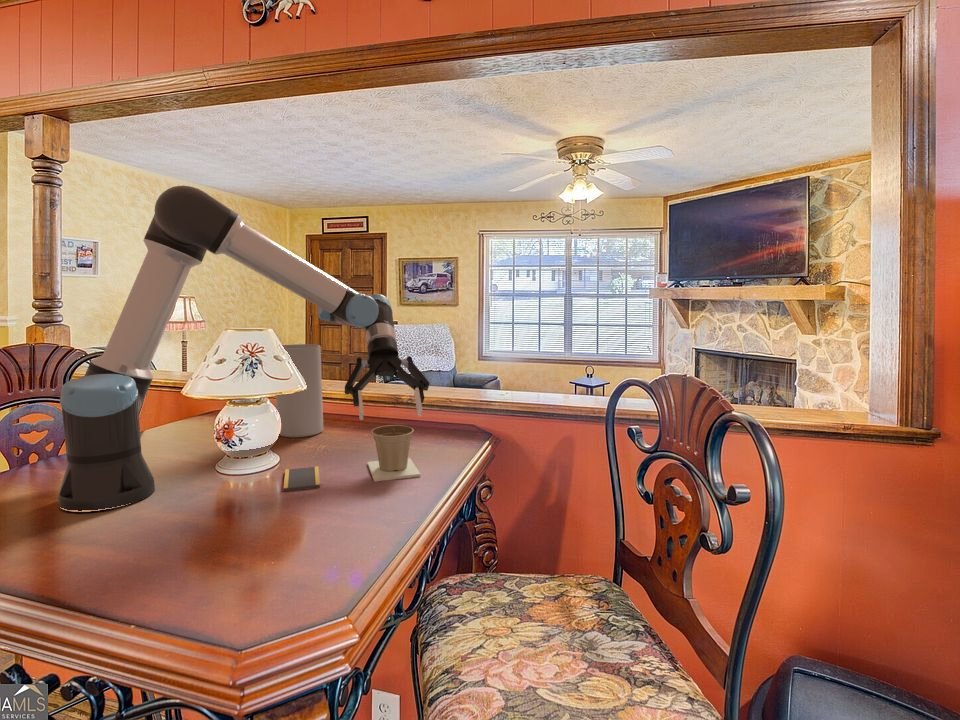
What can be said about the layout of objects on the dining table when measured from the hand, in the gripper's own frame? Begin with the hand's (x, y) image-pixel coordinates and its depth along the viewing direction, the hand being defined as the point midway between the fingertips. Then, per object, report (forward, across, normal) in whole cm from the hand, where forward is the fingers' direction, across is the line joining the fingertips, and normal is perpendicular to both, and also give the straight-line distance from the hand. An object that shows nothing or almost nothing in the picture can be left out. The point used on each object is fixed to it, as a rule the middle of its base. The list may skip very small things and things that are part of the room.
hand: (391, 415), depth 121 cm
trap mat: (+12, +20, -4) cm, 24 cm away
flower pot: (+11, 0, -4) cm, 12 cm away
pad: (+12, 0, -4) cm, 13 cm away
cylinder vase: (-17, +21, -34) cm, 43 cm away
